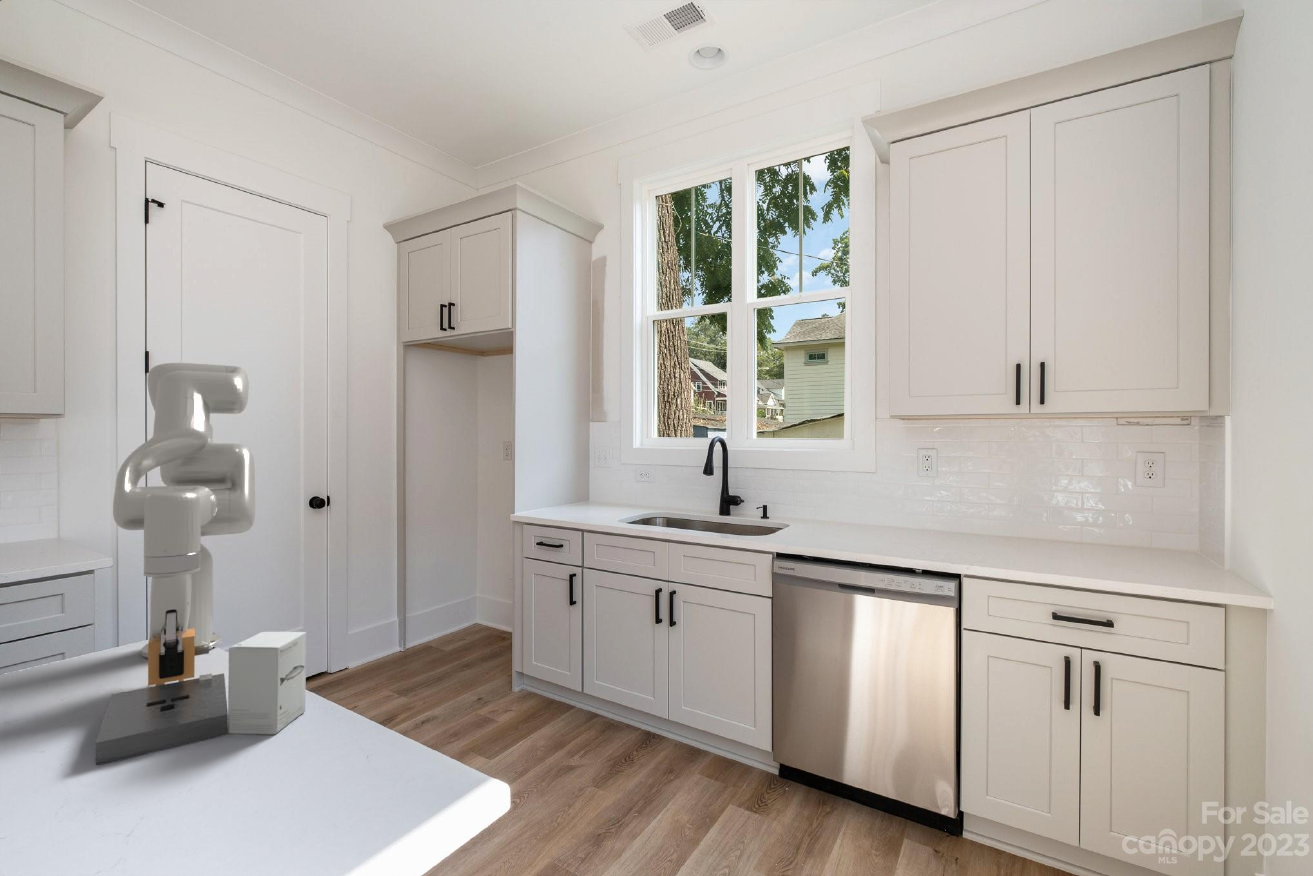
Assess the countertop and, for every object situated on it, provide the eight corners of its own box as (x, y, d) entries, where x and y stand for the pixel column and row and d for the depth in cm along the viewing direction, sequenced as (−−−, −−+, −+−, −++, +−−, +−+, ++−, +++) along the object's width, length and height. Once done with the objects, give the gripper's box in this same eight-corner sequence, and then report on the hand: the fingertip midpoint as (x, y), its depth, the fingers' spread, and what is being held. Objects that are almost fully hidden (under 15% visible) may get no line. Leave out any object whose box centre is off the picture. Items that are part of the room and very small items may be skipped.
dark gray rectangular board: (111, 713, 93) (112, 689, 93) (224, 691, 102) (224, 668, 101) (95, 766, 79) (95, 736, 79) (227, 734, 87) (227, 708, 87)
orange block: (208, 675, 108) (208, 626, 108) (208, 685, 104) (209, 633, 104) (150, 686, 103) (150, 634, 103) (148, 696, 99) (148, 643, 99)
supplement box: (276, 735, 87) (277, 647, 87) (225, 734, 87) (226, 646, 87) (307, 712, 95) (307, 630, 94) (260, 711, 95) (260, 630, 95)
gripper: (147, 557, 107) (147, 660, 107) (139, 576, 94) (138, 694, 94) (200, 553, 112) (200, 651, 112) (200, 570, 98) (199, 682, 98)
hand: (172, 669), depth 103 cm, fingers closed on orange block, 4 cm apart
